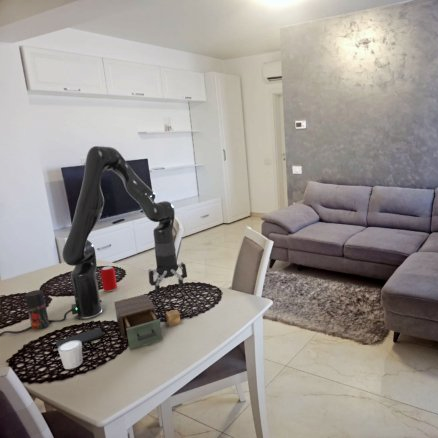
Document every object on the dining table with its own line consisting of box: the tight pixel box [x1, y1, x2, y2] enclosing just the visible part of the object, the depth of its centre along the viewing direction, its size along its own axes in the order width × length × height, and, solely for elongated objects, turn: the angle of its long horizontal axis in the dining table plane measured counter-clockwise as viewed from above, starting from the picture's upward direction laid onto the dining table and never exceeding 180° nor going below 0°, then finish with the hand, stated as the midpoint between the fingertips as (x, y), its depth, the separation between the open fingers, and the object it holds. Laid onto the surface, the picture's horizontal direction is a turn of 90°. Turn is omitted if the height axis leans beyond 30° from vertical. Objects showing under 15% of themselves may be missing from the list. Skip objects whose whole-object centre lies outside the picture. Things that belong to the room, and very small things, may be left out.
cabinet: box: [113, 293, 157, 340], centre depth 145 cm, size 16×13×10 cm
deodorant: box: [24, 289, 50, 332], centre depth 146 cm, size 6×6×15 cm
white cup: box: [57, 340, 84, 370], centre depth 121 cm, size 7×7×7 cm
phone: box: [55, 327, 104, 349], centre depth 137 cm, size 7×1×15 cm
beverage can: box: [100, 265, 118, 293], centre depth 182 cm, size 6×6×12 cm
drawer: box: [123, 310, 163, 350], centre depth 134 cm, size 19×11×8 cm, turn 33°
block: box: [165, 309, 181, 327], centre depth 147 cm, size 4×4×4 cm
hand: (170, 290), depth 145 cm, fingers open, 8 cm apart
